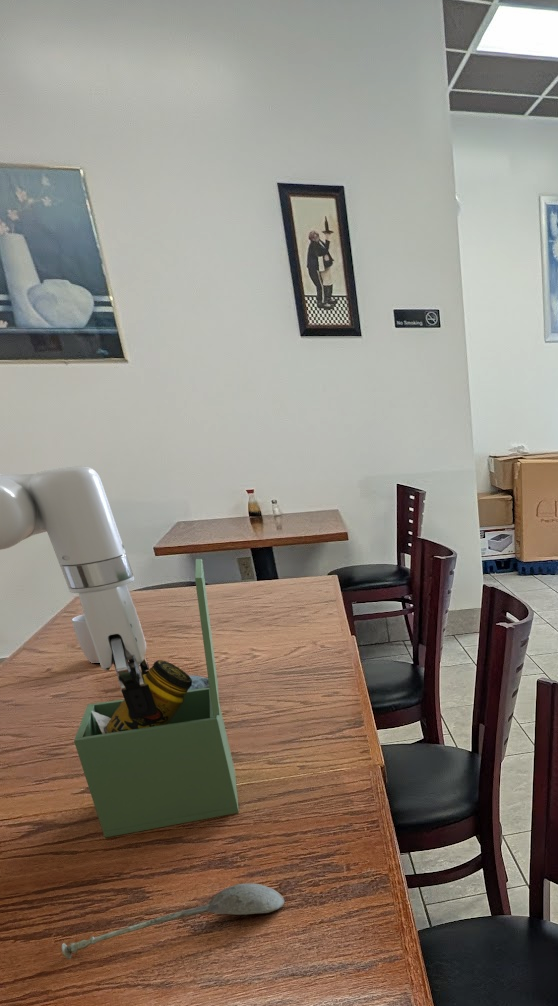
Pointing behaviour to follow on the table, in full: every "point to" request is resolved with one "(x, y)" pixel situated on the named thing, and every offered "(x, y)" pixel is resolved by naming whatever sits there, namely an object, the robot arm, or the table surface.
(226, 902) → the soupspoon
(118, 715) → the condiment
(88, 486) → the robot arm
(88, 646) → the mug
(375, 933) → the table surface
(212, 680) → the lid
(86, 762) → the chest
